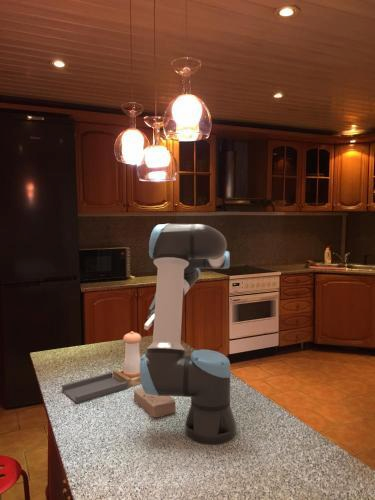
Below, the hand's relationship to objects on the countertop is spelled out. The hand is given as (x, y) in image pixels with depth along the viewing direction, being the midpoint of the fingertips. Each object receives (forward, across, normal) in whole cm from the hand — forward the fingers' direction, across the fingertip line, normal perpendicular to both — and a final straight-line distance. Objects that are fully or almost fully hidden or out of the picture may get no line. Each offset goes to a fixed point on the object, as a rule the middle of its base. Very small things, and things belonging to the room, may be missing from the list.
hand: (145, 327), depth 154 cm
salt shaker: (+12, -3, -19) cm, 22 cm away
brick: (+23, -19, -4) cm, 31 cm away
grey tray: (+25, +5, -14) cm, 29 cm away
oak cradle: (+12, -3, -18) cm, 22 cm away
